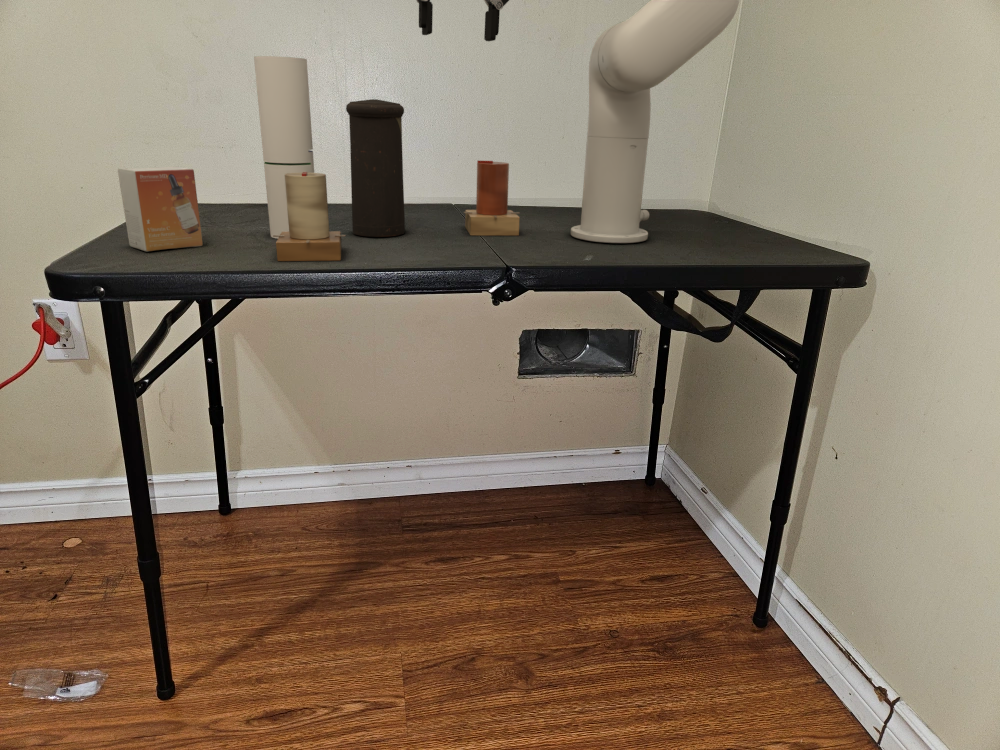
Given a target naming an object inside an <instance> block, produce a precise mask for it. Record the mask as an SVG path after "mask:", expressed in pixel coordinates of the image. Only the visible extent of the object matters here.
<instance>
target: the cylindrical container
mask: <svg viewBox="0 0 1000 750" xmlns="http://www.w3.org/2000/svg"><path fill="white" fill-rule="evenodd" d="M253 61H254V72H255V82H256V83H255V84H256V92H257V93H256V94H257V102H258V103H257V105H258V115H259V125H260V138H261V148H262V158H263V162H264V163H263V168H264V169H263V170H264V180H265V190H266V201H267V213H268V223H269V233H270V234H269V235H270V238H273V239H277V240H278V238H279V237H273V235H280V234H281V232H289V223H288V211H287V199H286V187H285V174H287V173H303V172H307V173H315V161H314V151H313V150H314V148H313V133H312V132H313V130H312V118H311V117H312V116H311V104H310V103H311V102H310V100H311V99H310V88H309V72H308V59H307V58H302V57H294V56H293V57H291V56H277V55H276V56H275V55H274V56H273V55H272V56H271V55H269V56H268V55H258V56H257V55H256V56H253Z"/></svg>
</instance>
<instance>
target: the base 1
mask: <svg viewBox="0 0 1000 750" xmlns="http://www.w3.org/2000/svg"><path fill="white" fill-rule="evenodd" d="M329 234H330V236H329V237H327V238H322V239H295V238H291V237H290V235H289V232H281V234H280V235H273V237H279V238H278V239H277V240H276V242H275V249H276V258H277V259H276V261H277V262H322V261H323V262H326V261H327V262H329V261H331V262H332V261H333V262H335V261H336V262H337V261H341V260H342V237H346V234H342V232H341V230H339V231H338V230H336V231H334V230H332V231H330V230H329Z"/></svg>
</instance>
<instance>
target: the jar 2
mask: <svg viewBox="0 0 1000 750" xmlns="http://www.w3.org/2000/svg"><path fill="white" fill-rule="evenodd" d="M509 178H510V163H509V162H503V161H493V160H479V159H478V160H477V161H476V197H475V198H476V202H475V203H476V204H475V205H476V206H475V210H476V213H478V214H483V215H505V214H507V211H508V210H509V180H510V179H509Z"/></svg>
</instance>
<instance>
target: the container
mask: <svg viewBox="0 0 1000 750" xmlns="http://www.w3.org/2000/svg"><path fill="white" fill-rule="evenodd" d="M345 111H346V113H347V114H348V119H349V122H348V123H349V140H350V141H349V143H350V144H349V146H350V149H349V151H350V183H351V184H350V187H351V224H352V234H353V235H356V236H360V237H365V238H366V237H367V238H368V237H369V238H388V237H389V238H390V237H398V236H401V235H403V234H405V232H406V218H405V193H404V191H405V190H404V189H405V188H404V163H403V161H404V159H403V124H402V123H403V122H402V121H403V120H402V119H403V115H404V113H405V108H404V106H403V105H401V104H400V103H399V102H392V101H388V100H382V99H378V98H377V99H375V98H373V99H372V98H371V99H363V100H355V101H349V102H348V103H347V104H346V106H345Z"/></svg>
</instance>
